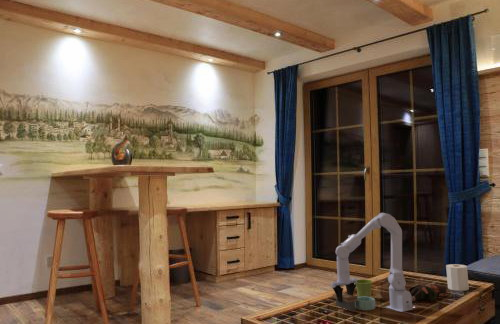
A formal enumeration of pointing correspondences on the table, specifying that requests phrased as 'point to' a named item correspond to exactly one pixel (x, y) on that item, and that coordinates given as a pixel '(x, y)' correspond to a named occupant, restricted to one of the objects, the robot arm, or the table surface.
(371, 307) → the bowl
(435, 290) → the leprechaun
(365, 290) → the plant pot
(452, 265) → the toilet paper
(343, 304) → the grey rectangular block
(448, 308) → the table surface
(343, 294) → the walnut board
